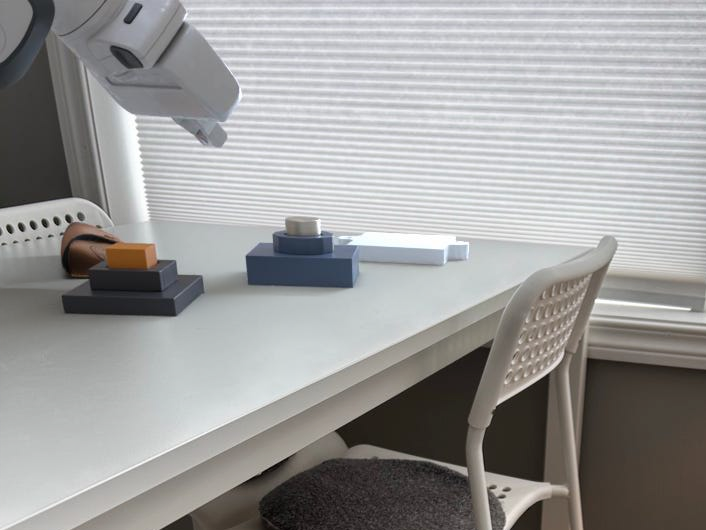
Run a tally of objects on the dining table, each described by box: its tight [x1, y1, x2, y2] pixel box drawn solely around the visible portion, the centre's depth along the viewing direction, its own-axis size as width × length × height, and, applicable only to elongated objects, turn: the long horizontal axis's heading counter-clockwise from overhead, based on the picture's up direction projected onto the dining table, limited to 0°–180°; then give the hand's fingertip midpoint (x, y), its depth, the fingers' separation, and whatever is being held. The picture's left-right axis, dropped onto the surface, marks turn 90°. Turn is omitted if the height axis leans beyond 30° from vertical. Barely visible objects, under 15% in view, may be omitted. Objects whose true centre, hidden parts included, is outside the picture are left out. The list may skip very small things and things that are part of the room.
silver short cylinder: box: [284, 216, 321, 237], centre depth 110 cm, size 4×4×2 cm
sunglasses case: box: [60, 221, 125, 279], centre depth 115 cm, size 18×7×7 cm
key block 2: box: [244, 229, 360, 289], centre depth 112 cm, size 12×10×5 cm
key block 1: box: [61, 259, 205, 317], centre depth 91 cm, size 10×12×5 cm
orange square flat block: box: [105, 242, 158, 269], centre depth 89 cm, size 4×4×2 cm
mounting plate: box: [337, 231, 470, 266], centre depth 130 cm, size 18×13×2 cm
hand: (217, 142), depth 99 cm, fingers closed
